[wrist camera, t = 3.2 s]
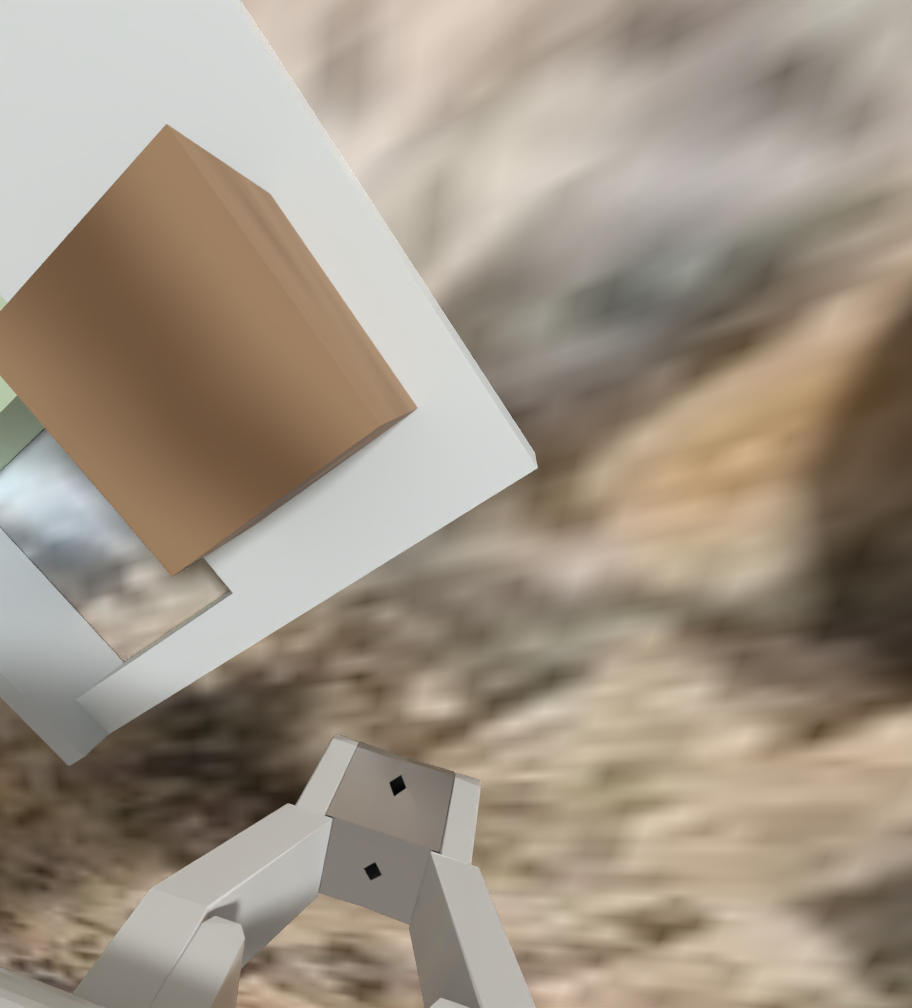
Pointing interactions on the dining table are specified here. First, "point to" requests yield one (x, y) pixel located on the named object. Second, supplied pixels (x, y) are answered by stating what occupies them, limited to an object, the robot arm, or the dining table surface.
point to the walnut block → (194, 354)
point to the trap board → (342, 256)
